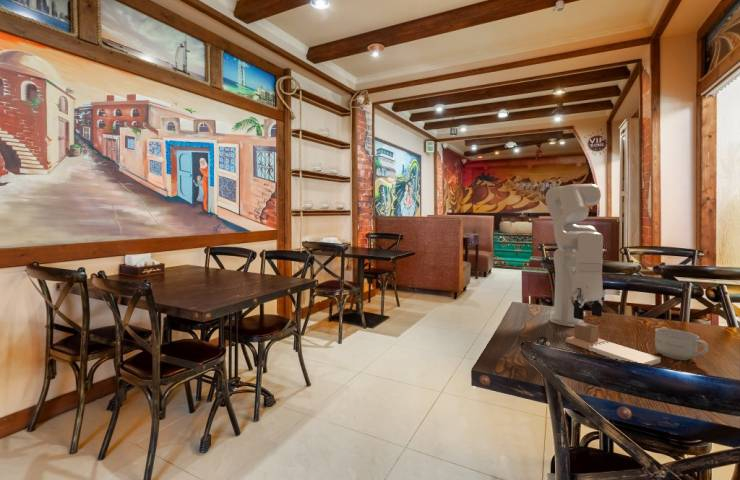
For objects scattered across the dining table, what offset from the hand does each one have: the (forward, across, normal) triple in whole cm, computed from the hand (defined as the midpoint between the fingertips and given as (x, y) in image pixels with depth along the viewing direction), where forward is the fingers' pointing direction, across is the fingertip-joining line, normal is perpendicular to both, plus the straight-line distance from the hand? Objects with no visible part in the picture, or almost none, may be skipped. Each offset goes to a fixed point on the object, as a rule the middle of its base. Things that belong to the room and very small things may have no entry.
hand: (587, 317), depth 126 cm
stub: (+10, -1, -1) cm, 10 cm away
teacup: (+10, -15, +20) cm, 27 cm away
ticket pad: (+10, -1, +11) cm, 15 cm away
